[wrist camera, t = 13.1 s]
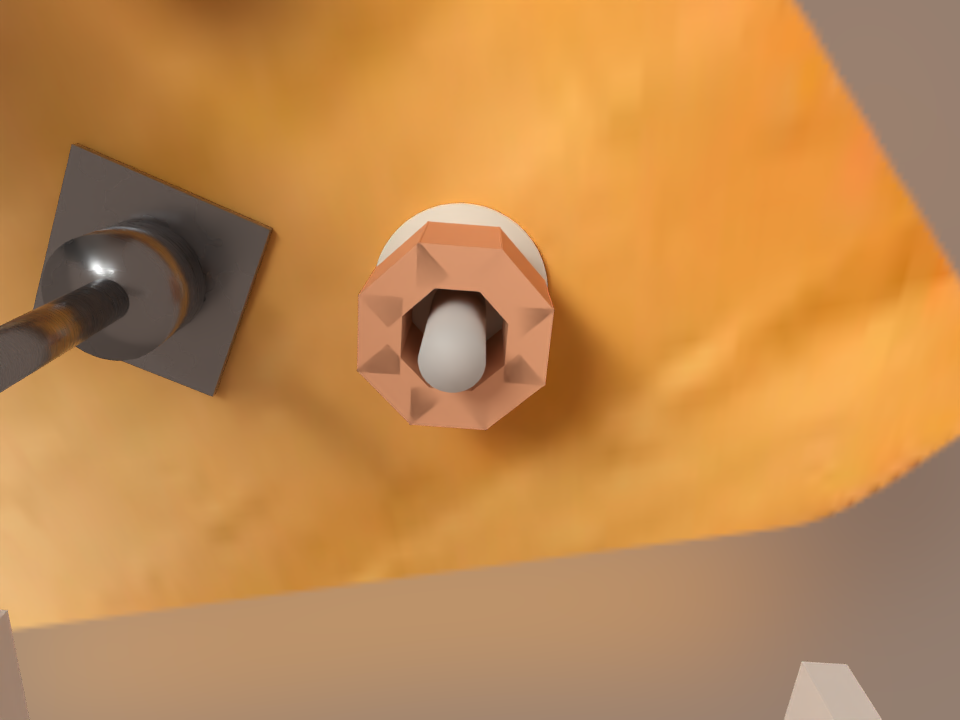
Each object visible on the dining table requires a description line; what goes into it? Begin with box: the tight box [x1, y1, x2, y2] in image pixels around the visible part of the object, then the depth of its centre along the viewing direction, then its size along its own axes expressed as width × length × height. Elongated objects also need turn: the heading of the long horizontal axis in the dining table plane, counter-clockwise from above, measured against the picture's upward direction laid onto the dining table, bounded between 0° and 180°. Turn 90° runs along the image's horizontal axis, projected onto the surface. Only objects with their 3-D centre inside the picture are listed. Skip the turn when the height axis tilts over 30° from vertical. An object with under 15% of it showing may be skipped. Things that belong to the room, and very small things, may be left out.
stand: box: [0, 143, 273, 397], centre depth 30 cm, size 10×10×14 cm
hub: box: [377, 203, 548, 393], centre depth 32 cm, size 9×9×10 cm
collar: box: [357, 221, 554, 430], centre depth 32 cm, size 8×8×5 cm
